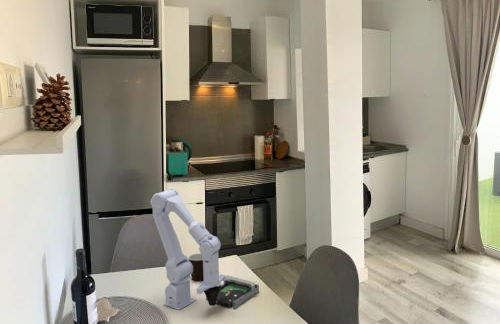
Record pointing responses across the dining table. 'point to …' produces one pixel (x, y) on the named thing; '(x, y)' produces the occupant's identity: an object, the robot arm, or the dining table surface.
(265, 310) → the dining table surface
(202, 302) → the dining table surface
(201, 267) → the coffee mug
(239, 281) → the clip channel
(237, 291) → the disk drive
